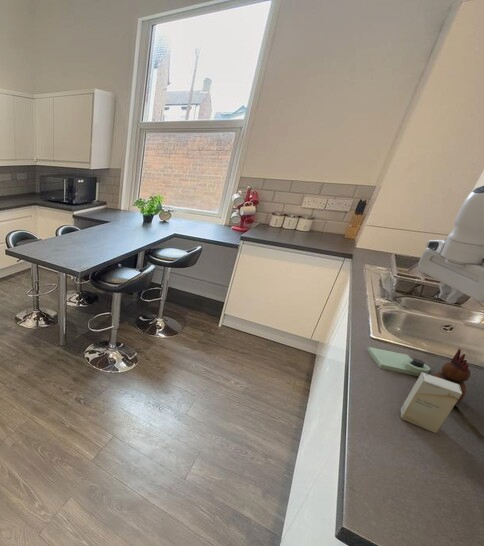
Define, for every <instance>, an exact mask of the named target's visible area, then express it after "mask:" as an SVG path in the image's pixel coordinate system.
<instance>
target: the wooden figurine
mask: <svg viewBox="0 0 484 546" xmlns="http://www.w3.org/2000/svg"><path fill="white" fill-rule="evenodd" d="M461 351H462V348H459V349H458V350H457V351H456V353H455V355H454V356H453V357H452V359H451V361H448V362H446V363H444V364H443V365H442V367H441V370H440V371H439V372H436V373H434V374H433V375H432V376H435V377H438V378H441V379H444V380H447V381H450V382H453V383H456V384H459V385H460V388H461V391H462V395H461V396H460V398H459V399H458V401H457V402H456V404H458V403H460V402H461V401H462V400H463V399H464V398H465V396H466V393H467V386H466V383H465V382H467V381H468V380H469V379H470V377H471V370H470V369H469V364H467V363H468V360H467V359H465V357H466V354H465V353H462V355H461Z"/></svg>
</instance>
